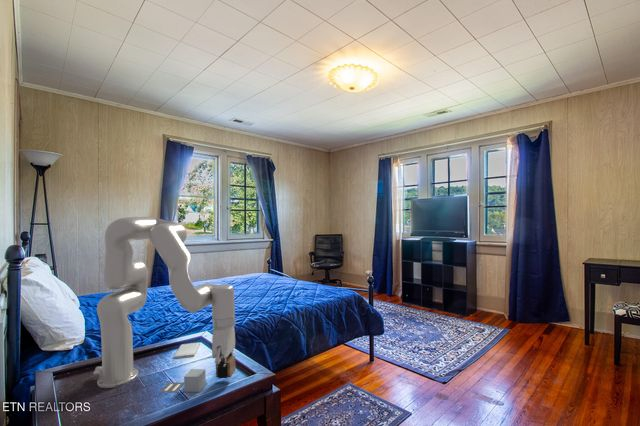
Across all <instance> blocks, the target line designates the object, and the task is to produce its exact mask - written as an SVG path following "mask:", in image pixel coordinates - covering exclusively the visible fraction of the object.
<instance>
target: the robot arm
mask: <svg viewBox="0 0 640 426" xmlns="http://www.w3.org/2000/svg"><path fill="white" fill-rule="evenodd" d="M187 233H188V232H187V229H186V228H185V227H184V226H183V225H182V224H180V223H178V222H175V221H170V220H165V219H162V218H157V217H153V216H126V217H121V218H118V219H116V220H114V221H112V222H111V223H109V225H108V226H107V227H106V230H105V233H104V243H105V254H104V256H105V257H104V270H103V283H104V285H105V287H106V288H107V289H110V290H118V291H115V292H111V293H109V294H106V295H105V296H103V297H102V298H101V299H100V300H99V302H98V303H97V305H96V314H97V317H98V319H99V324H100V335H101V336H100V337H101V343H100V344H101V362H102V363H101V365H100V366H96V367H95V369H94V371H93V375H94V376H99V377H98V379H97V382H96V383H97V384H96V385H97V387H98V388H101V389H102V388H103V389H112V388H117V387H118V386H120V385H124V384H126V383H128V382H130V381H132V380H133V379H135V378H136V377H138V375H139V370H138V368H136V367H134V349H133V348H134V347H133V346H134V345H133V344H134V343H133V326H132V325H133V324H132V323H131V322H130V320H129V317H128V316H129V315H131V314H132V313H135V312H137V311H140V310H141V309H142V308H143V307H144V306H145V305H146V302H147V298H148V286H149V285H148V283H149V282H148V281H149V270H148V267H147V265H146V263H145V262H144V261H142V260H140V259H134V258H133V257H134V250H133V247H132V245H131V242H132V241H142V240H147V239H148V240H150V242H151V244H152V245H153V247H154V248H155V250H156V252H157V253H158V254H159V256H160V257H161V259H162V260H163V263H164V264H165V265H166V266H167V268H168V271H169V273H168V274H169V275H168V277H169V284H170V288H171V289H170V290H171V291H172V294H173V295H174V297H175V298H176V300H177V301H178V303H179V304H180V306H181V307H182V308H183V309H184V310H186V311H187V312H188V313H197V312H199V311H200V310H202V309H204V308H206V307H208V306H211V312H212V313H211V315H212V316H211V317H212V328H213V330H212V338H211V339H212V340H211V341H212V342H211V344H212V345H211V356H212V359H215V360H214V363H215V365H216V364H217V367H218V377H217V379H227V378H229V377H228V373H227V366H226V358H227V356H234V349H235V347H236V333H235V331H236V330H235V325H236V310H235V309H236V308H235V307H236V305H235V287H233V285H232V284H220V285H219V284H214V283H213V284H212V283H203V284H201V285H198V286H195V285H194V283H193V282H192V279H190V276H189V266H190V263H191V261H192V258H193V257H192V254H191V253H190V251H189V249H188V248H187V247H186V245H185V243H184V242H186V239H187V235H188V234H187ZM119 289H122V290H119ZM221 356H224V357H221ZM220 359H224V362H223V361H221V360H220Z"/></svg>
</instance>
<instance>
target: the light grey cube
mask: <svg viewBox="0 0 640 426" xmlns="http://www.w3.org/2000/svg"><path fill="white" fill-rule="evenodd" d="M206 379H207V377H206V368H191V369H189V371H188V372H187V373H186V374H185V375H184V376H183V383H184V385H183V387H184V388H183V389H184V390H183V391H184V392H199V391H200V390H201V389H202V388H203V386H204V385H205V384H206V383H207V382H206ZM203 389H204V388H203Z"/></svg>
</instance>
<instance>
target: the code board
mask: <svg viewBox="0 0 640 426" xmlns="http://www.w3.org/2000/svg"><path fill="white" fill-rule="evenodd" d="M207 384H208V382H206V384H205V385H204V386H203V388H202V389H201V390H200V391H199V392H184V390H183V391H182V393H183V394H186V393H187V394H200V393H201V392H202V391H203V390H204V389H205V388H206V386H207ZM182 387H184V382H170V381H169V382H168V383H167V384H166V385H165V386H164V387H163V388H161V390H160V391H159V393H175V394H176V393H178V391H179V390H180V389H182Z"/></svg>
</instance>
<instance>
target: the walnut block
mask: <svg viewBox="0 0 640 426" xmlns="http://www.w3.org/2000/svg"><path fill="white" fill-rule="evenodd" d="M221 357H224V355H221ZM220 360H221V361H223V362H224V359H220ZM226 366H227V373H228V377H227V378H232V376H233V375H234V373H235V372H236V369H237V368H236V356H235V355H233V356H227V358H226ZM215 377H216V378H218V367H217V364H216V363H215Z"/></svg>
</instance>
